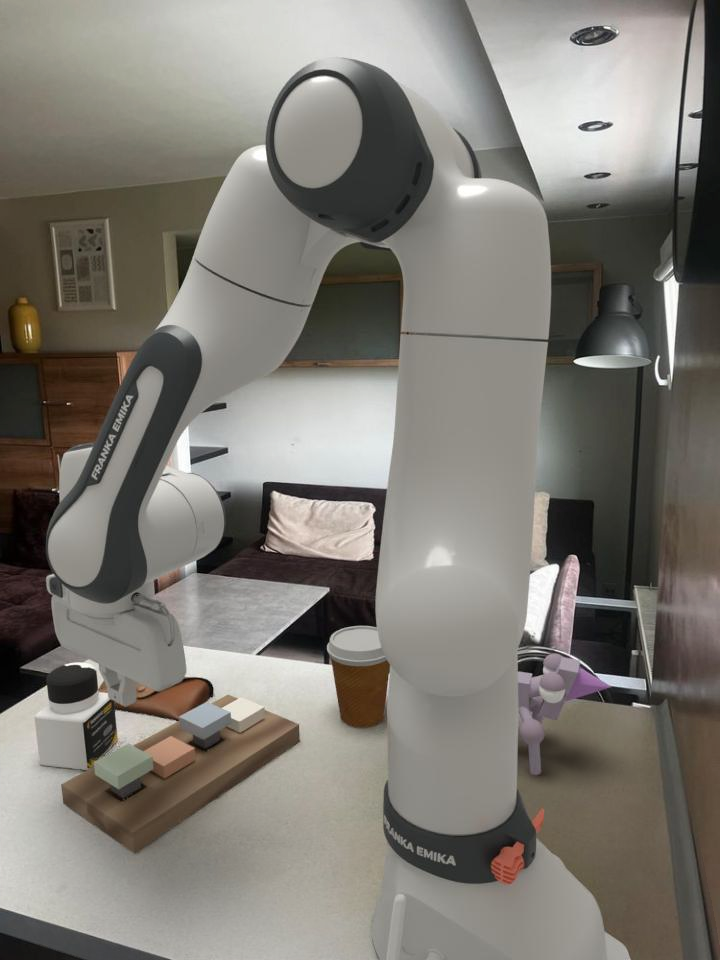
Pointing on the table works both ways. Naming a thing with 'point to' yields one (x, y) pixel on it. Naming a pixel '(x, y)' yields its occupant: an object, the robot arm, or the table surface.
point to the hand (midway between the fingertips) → (122, 701)
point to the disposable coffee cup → (359, 675)
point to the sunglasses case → (168, 698)
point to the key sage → (124, 769)
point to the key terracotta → (170, 756)
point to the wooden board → (179, 780)
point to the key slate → (205, 723)
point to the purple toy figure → (550, 698)
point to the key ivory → (244, 714)
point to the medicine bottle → (75, 719)
